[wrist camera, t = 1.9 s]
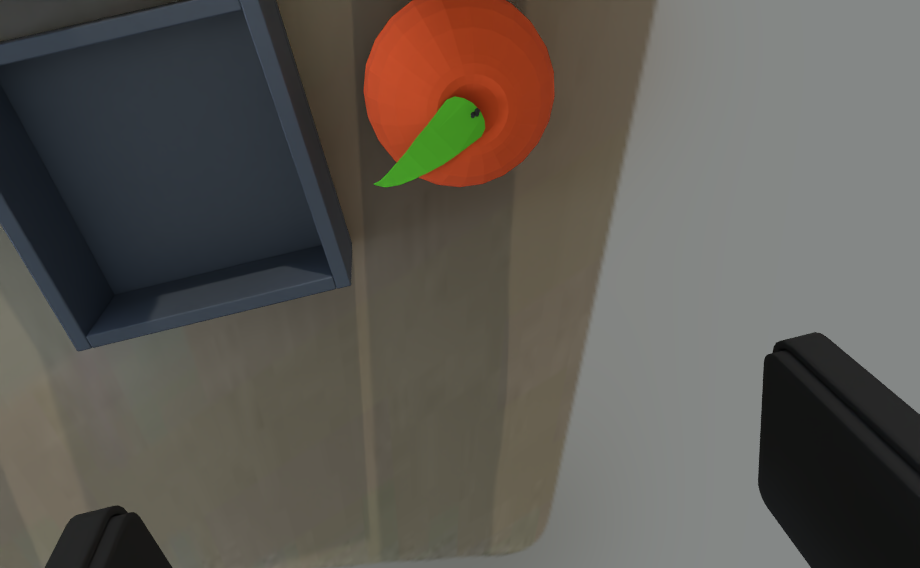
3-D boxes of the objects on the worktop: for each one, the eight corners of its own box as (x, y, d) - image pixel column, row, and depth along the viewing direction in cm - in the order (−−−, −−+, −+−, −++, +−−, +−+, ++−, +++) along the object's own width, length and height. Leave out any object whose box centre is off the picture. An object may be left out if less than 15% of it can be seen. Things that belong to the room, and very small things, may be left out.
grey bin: (270, -20, 24) (254, -14, 20) (352, 244, 29) (351, 285, 26) (-27, 47, 24) (-96, 66, 20) (112, 302, 29) (77, 352, 25)
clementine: (428, 204, 29) (447, 275, 23) (309, 92, 26) (293, 138, 20) (562, 75, 27) (622, 114, 21) (450, -60, 24) (481, -62, 18)
